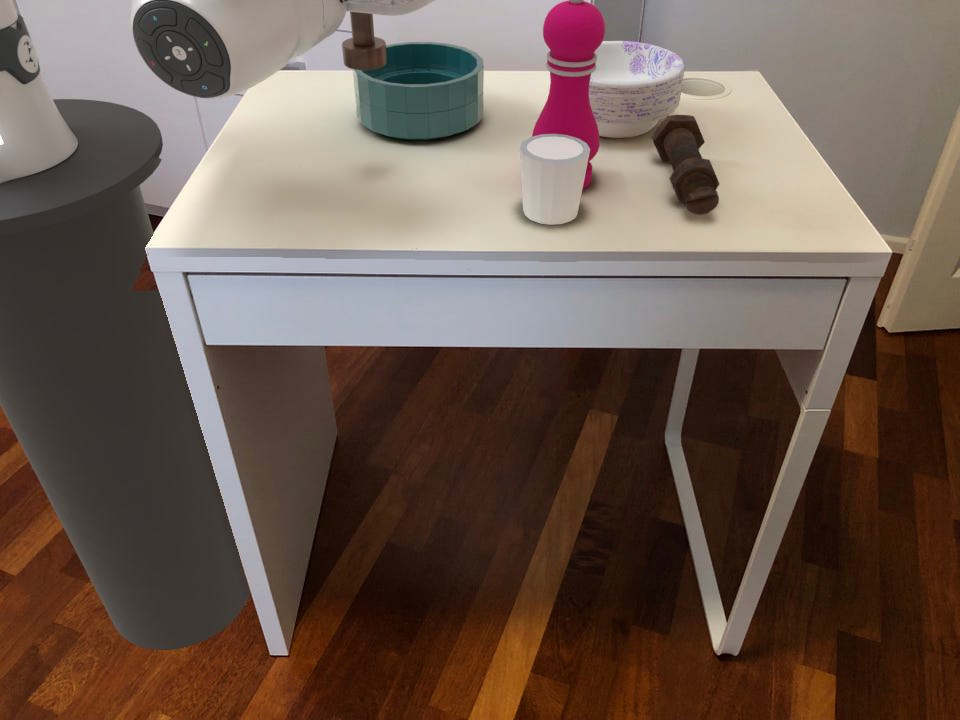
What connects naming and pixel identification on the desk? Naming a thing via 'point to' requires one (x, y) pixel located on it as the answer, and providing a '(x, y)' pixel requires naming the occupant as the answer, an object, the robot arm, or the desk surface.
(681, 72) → the paper bowls
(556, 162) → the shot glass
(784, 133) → the desk surface
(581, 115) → the pepper mill
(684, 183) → the bolt
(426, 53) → the bowl
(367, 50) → the muddler
